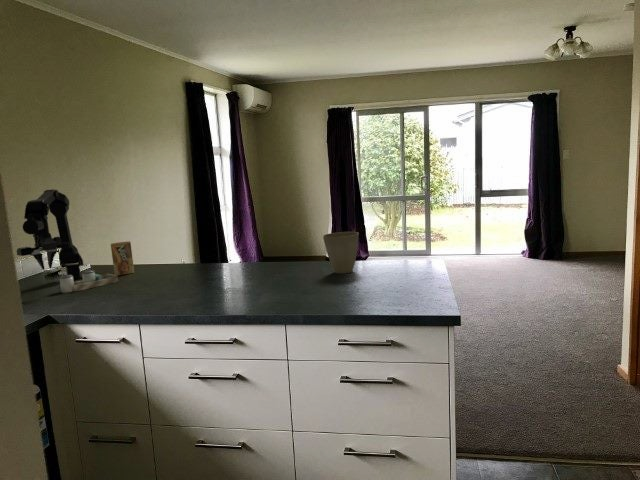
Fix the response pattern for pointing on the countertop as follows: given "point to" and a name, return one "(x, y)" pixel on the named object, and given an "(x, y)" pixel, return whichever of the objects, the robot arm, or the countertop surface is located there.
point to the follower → (98, 277)
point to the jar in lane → (88, 276)
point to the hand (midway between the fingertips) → (46, 268)
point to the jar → (66, 283)
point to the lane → (95, 282)
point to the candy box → (122, 258)
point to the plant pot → (342, 250)
